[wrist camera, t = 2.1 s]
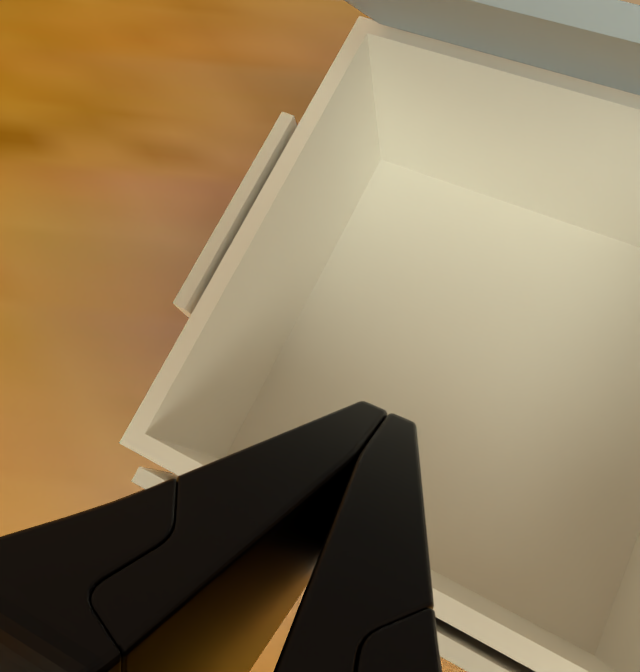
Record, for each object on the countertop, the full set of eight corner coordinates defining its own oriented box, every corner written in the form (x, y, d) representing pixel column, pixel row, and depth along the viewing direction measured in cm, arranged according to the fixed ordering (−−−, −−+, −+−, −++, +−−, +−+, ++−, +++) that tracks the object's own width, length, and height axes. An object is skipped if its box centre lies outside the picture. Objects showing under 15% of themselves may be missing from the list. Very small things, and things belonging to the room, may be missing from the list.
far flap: (1072, 152, 8) (1100, 113, 8) (268, -51, 11) (276, -81, 11) (857, 155, 14) (870, 134, 14) (379, 24, 18) (385, 5, 17)
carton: (615, 710, 18) (731, 820, 11) (186, 476, 22) (85, 455, 15) (763, 283, 21) (924, 170, 14) (361, 147, 25) (339, 10, 18)
